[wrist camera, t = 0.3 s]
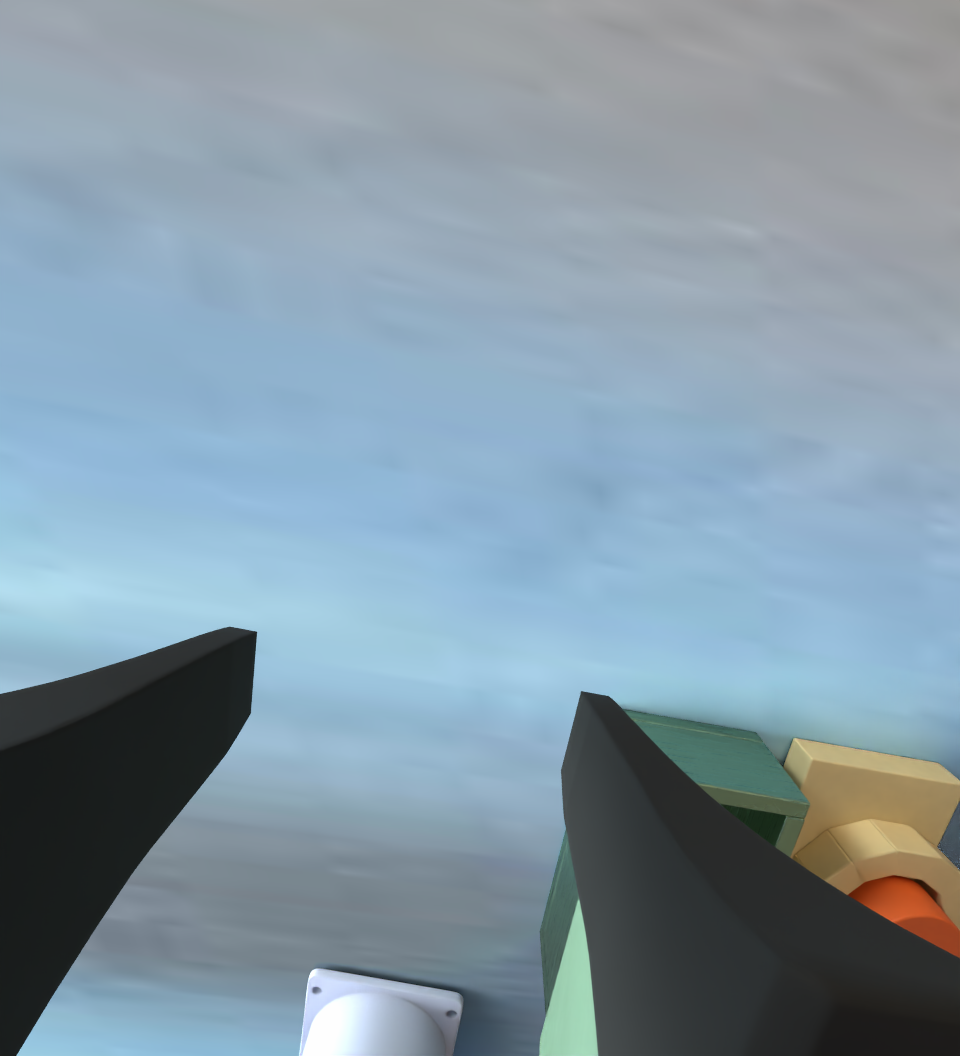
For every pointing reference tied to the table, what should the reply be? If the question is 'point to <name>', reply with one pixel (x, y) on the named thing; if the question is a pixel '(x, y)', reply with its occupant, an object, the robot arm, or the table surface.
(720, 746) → the box
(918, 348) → the table surface
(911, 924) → the switch
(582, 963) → the lid
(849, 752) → the switch block
